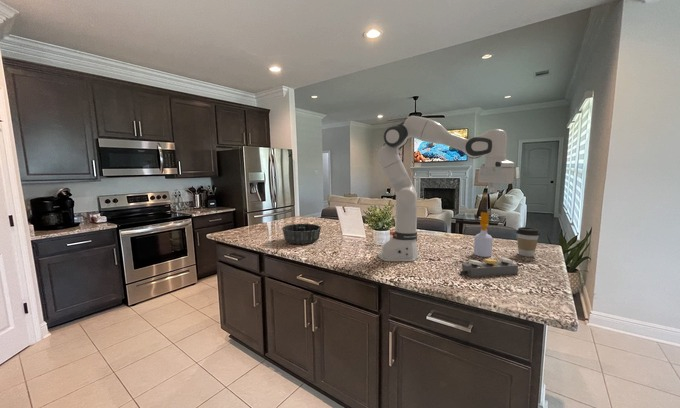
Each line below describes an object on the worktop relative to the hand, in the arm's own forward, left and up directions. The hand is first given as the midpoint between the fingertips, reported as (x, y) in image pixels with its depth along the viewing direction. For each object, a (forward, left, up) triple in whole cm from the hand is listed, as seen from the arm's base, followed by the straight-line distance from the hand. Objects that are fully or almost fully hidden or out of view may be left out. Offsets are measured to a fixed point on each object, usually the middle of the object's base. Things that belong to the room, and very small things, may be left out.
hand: (493, 192), depth 138 cm
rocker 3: (+2, -8, -32) cm, 34 cm away
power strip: (-7, -8, -37) cm, 39 cm away
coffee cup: (+34, +13, -37) cm, 52 cm away
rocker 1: (-14, -8, -32) cm, 36 cm away
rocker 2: (-6, -8, -32) cm, 34 cm away
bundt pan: (-89, +70, -37) cm, 119 cm away
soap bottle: (+10, +18, -37) cm, 43 cm away
